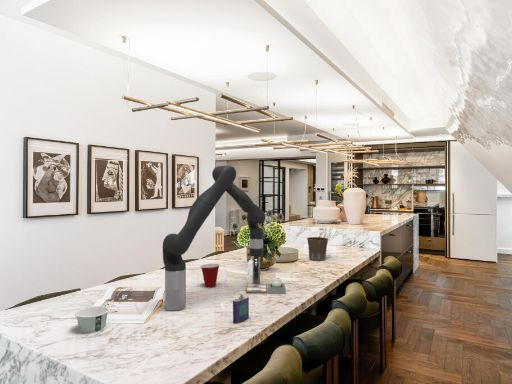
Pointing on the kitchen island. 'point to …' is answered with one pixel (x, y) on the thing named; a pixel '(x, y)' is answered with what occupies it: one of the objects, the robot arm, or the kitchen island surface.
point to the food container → (92, 318)
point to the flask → (240, 309)
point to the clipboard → (256, 288)
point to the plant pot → (317, 248)
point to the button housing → (276, 289)
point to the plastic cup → (210, 274)
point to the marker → (258, 276)
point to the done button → (276, 283)
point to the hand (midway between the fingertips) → (256, 278)
